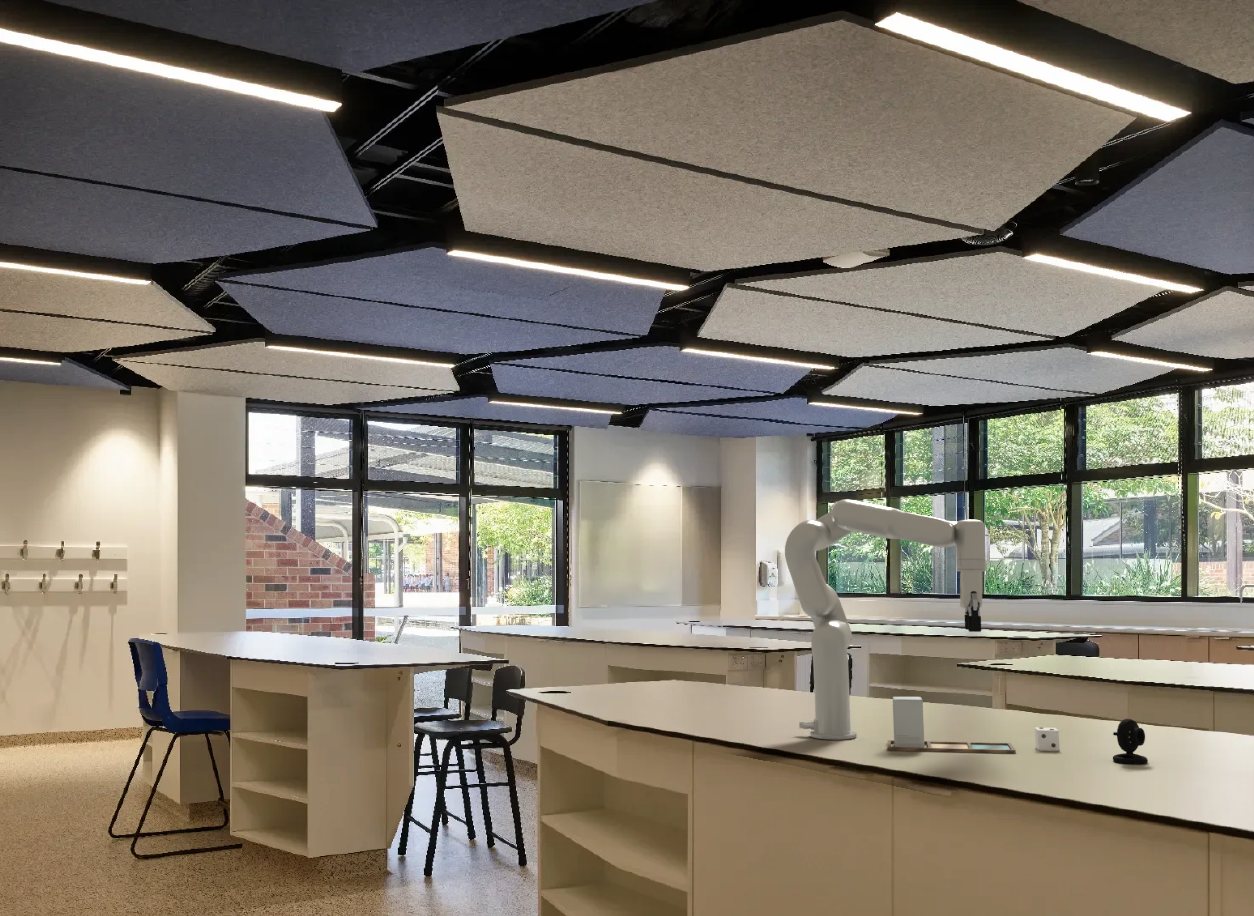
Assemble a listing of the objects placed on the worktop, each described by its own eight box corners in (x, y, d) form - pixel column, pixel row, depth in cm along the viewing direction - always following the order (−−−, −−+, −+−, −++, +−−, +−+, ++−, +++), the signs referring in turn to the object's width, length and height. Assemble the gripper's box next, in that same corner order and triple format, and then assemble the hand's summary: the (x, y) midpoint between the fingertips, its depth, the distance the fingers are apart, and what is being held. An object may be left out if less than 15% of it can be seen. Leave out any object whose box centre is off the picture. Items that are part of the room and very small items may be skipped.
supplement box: (925, 750, 275) (923, 699, 276) (895, 749, 277) (893, 699, 278) (923, 745, 282) (921, 696, 284) (893, 744, 284) (892, 695, 285)
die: (1038, 750, 273) (1037, 729, 273) (1035, 747, 277) (1034, 726, 278) (1059, 751, 271) (1058, 730, 272) (1056, 747, 276) (1055, 727, 277)
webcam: (1136, 766, 249) (1134, 721, 250) (1106, 761, 255) (1103, 718, 256) (1154, 762, 254) (1151, 718, 255) (1124, 758, 260) (1121, 715, 261)
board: (887, 750, 275) (887, 747, 275) (887, 743, 286) (887, 740, 286) (1015, 753, 268) (1015, 750, 268) (1010, 746, 279) (1010, 742, 279)
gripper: (953, 566, 300) (955, 628, 298) (959, 566, 283) (961, 632, 281) (982, 566, 298) (984, 628, 296) (989, 566, 281) (991, 632, 280)
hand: (973, 630), depth 289 cm, fingers open, 9 cm apart
